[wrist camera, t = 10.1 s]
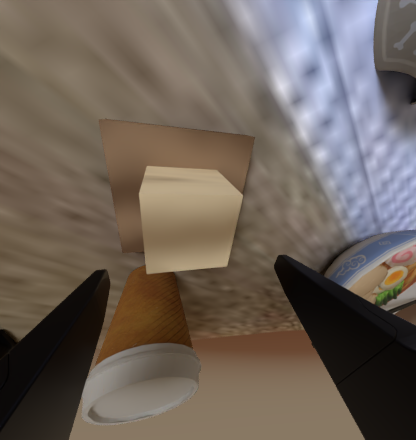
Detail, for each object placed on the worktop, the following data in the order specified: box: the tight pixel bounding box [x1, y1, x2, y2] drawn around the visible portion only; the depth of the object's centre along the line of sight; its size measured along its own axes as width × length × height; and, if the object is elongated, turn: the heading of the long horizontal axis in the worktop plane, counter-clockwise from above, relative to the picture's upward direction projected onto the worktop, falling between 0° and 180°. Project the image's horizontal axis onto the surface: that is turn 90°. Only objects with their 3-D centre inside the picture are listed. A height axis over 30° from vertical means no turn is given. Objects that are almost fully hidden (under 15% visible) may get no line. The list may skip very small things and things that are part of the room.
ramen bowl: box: [312, 230, 416, 348], centre depth 29 cm, size 25×23×8 cm
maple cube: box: [139, 166, 243, 274], centre depth 14 cm, size 6×6×6 cm
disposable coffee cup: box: [81, 265, 201, 425], centre depth 18 cm, size 10×10×12 cm
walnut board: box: [99, 119, 255, 253], centre depth 17 cm, size 12×12×2 cm
